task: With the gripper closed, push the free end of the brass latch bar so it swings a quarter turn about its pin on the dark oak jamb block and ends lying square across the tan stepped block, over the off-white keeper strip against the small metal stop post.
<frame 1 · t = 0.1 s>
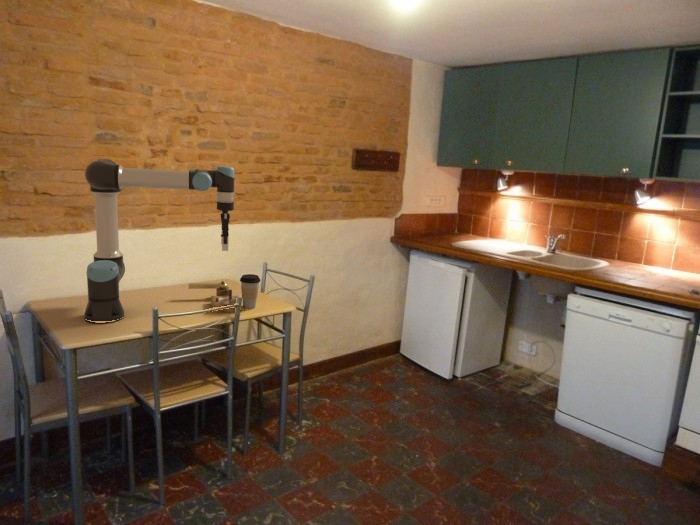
hand: (224, 247, 234), 28 cm above the table, fingers open, 13 cm apart
coffee cup: (249, 307, 241), on the table
tan stepped block: (224, 307, 237), on the table
jamb block: (222, 298, 250), on the table
latch bar: (208, 284, 247), point 7 cm above the table, hinge at 0.0°
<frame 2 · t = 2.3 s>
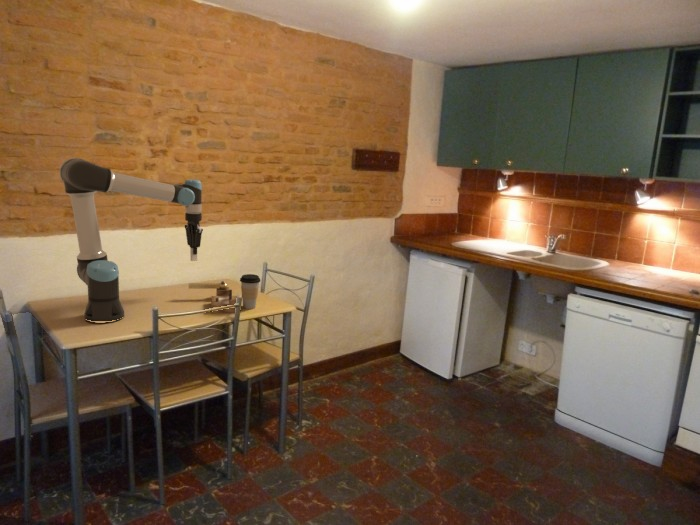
hand: (193, 260, 248), 18 cm above the table, fingers closed
nothing on the table moved.
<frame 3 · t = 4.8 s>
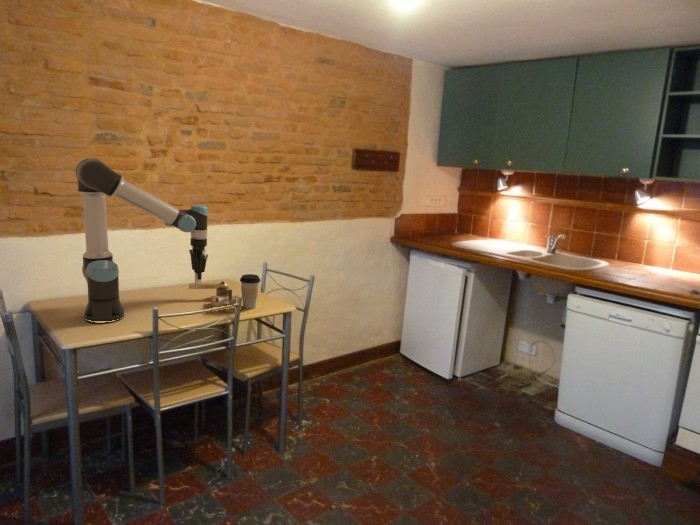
hand: (198, 285, 247), 6 cm above the table, fingers closed
latch bar: (208, 285, 246), point 7 cm above the table, hinge at 3.2°, touching gripper
everything else where it was.
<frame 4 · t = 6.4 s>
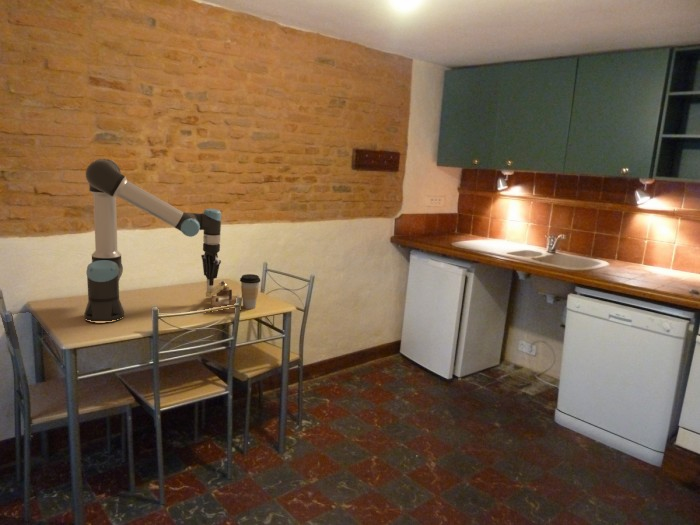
hand: (209, 291, 240), 6 cm above the table, fingers closed
latch bar: (216, 288, 242), point 7 cm above the table, hinge at 64.0°, touching gripper
everything else where it was.
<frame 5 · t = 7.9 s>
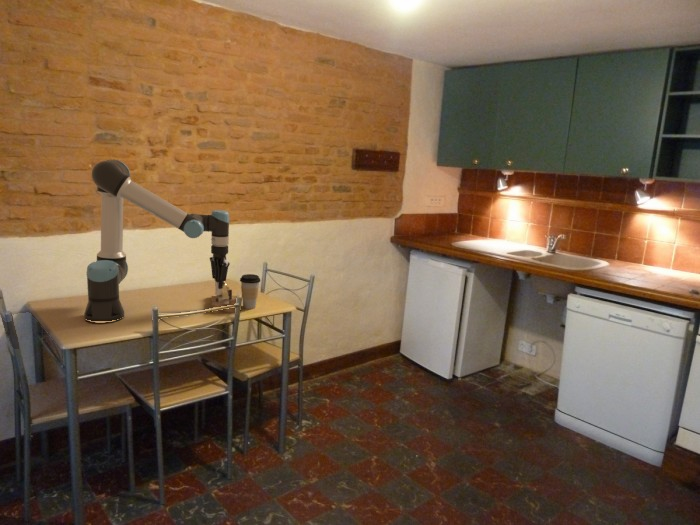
hand: (218, 294, 235), 6 cm above the table, fingers closed
latch bar: (224, 288, 242), point 7 cm above the table, hinge at 91.8°, touching gripper
everything else where it was.
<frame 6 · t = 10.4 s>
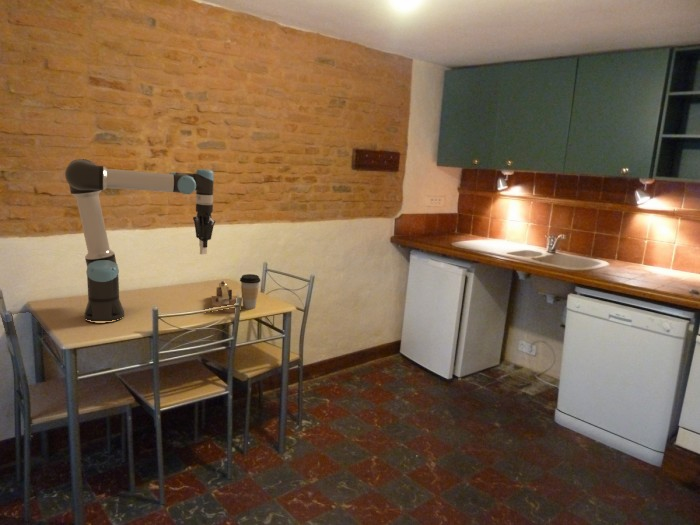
hand: (203, 253, 239), 23 cm above the table, fingers closed
latch bar: (224, 288, 242), point 7 cm above the table, hinge at 91.9°
everything else where it was.
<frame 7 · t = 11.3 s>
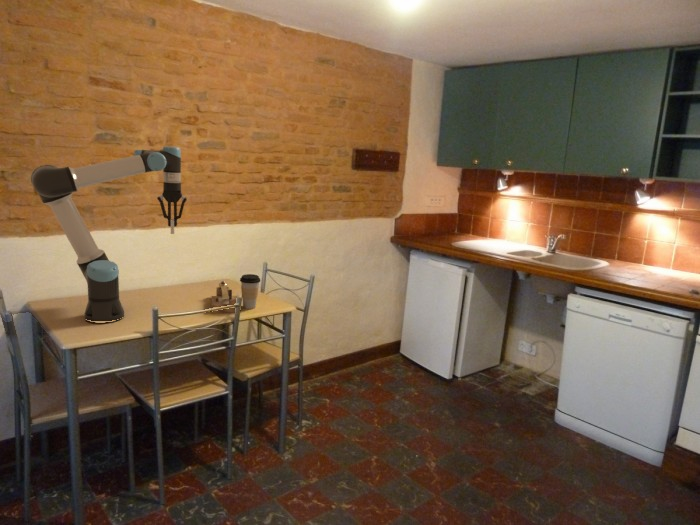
hand: (172, 233, 234), 32 cm above the table, fingers closed
nothing on the table moved.
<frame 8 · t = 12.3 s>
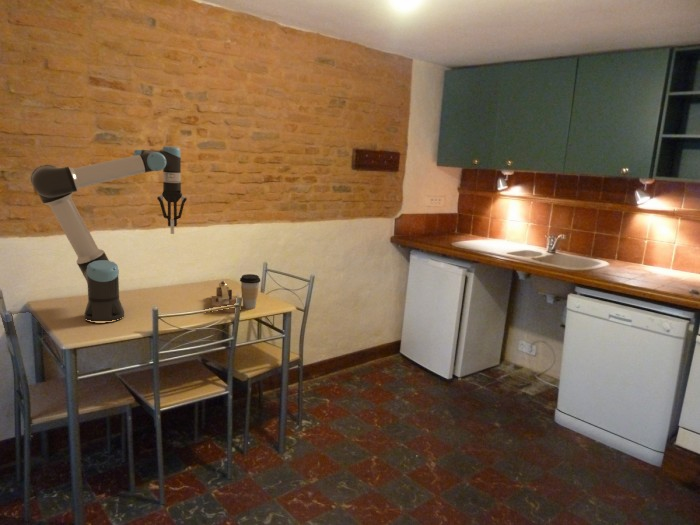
hand: (172, 233, 234), 32 cm above the table, fingers closed
nothing on the table moved.
at the end: latch bar at +92° (first picture: +0°) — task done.
